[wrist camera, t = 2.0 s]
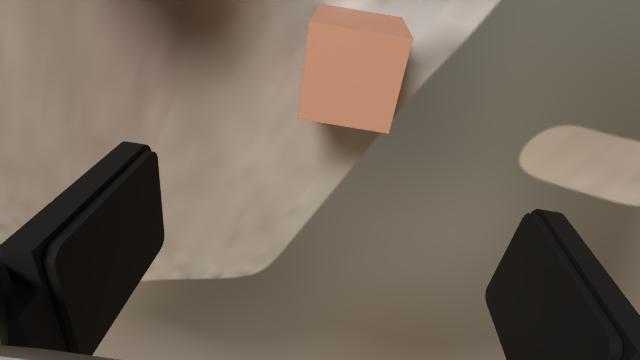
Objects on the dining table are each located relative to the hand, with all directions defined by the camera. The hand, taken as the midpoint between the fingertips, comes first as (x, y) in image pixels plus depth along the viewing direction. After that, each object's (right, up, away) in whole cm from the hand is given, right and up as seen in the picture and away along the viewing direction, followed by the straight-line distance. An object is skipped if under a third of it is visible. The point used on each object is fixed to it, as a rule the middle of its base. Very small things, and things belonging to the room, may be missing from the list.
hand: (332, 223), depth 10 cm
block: (+2, +9, +15) cm, 18 cm away
